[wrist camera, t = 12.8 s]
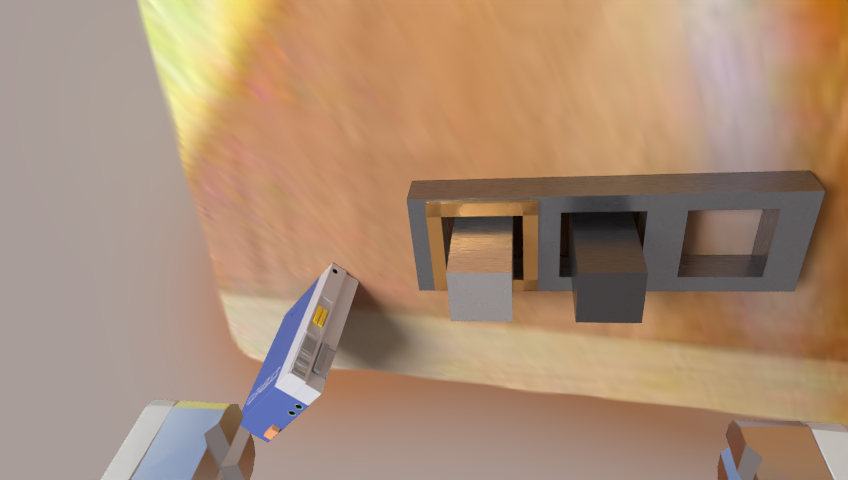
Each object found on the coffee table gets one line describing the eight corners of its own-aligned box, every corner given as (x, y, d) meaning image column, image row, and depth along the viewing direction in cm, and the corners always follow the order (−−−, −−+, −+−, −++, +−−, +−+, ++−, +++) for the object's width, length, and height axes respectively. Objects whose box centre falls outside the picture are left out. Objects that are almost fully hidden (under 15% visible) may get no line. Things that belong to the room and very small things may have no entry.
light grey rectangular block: (512, 202, 44) (511, 272, 38) (513, 248, 46) (512, 321, 40) (456, 203, 45) (446, 273, 38) (460, 248, 47) (450, 321, 41)
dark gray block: (629, 200, 43) (648, 272, 36) (624, 247, 45) (641, 322, 39) (569, 201, 43) (578, 272, 37) (568, 247, 46) (575, 322, 39)
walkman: (312, 330, 54) (266, 447, 45) (285, 314, 53) (233, 429, 44) (361, 280, 50) (323, 396, 40) (333, 261, 49) (287, 375, 40)
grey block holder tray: (810, 170, 40) (827, 193, 38) (781, 268, 44) (795, 294, 42) (412, 181, 44) (406, 202, 42) (423, 269, 49) (418, 292, 46)
